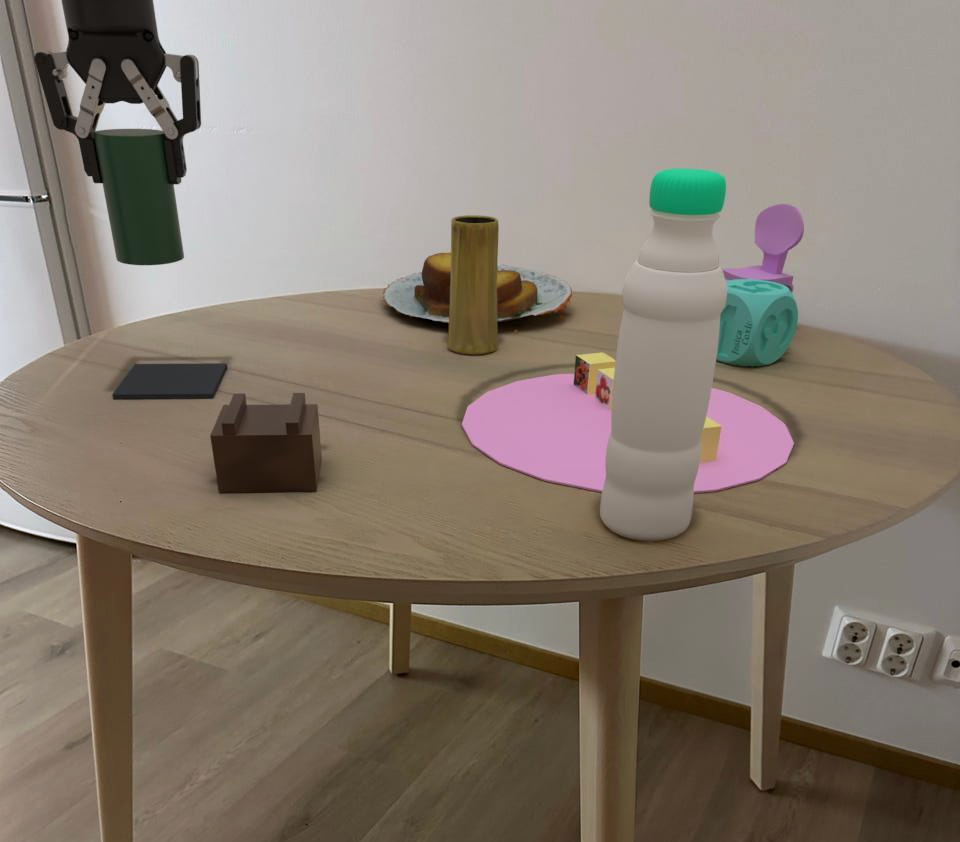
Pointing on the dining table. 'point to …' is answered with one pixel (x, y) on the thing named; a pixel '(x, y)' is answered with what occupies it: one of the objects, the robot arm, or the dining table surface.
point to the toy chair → (773, 245)
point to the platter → (587, 427)
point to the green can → (139, 196)
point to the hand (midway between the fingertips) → (138, 182)
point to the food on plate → (515, 292)
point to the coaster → (171, 381)
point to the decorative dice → (756, 322)
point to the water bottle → (665, 360)
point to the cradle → (267, 446)
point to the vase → (473, 285)
